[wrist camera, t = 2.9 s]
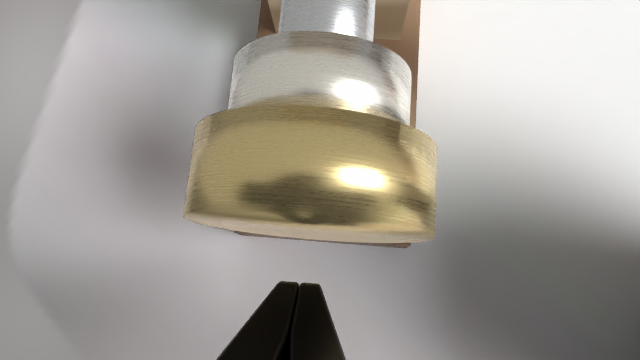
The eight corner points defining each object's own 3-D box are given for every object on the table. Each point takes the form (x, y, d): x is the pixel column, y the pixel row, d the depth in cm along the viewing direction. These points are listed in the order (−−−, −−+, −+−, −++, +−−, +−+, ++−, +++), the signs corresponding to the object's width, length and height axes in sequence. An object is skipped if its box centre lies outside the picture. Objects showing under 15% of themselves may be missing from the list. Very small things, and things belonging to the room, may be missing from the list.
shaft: (413, 247, 12) (465, 225, 7) (219, 232, 13) (138, 201, 7) (425, -45, 14) (473, -228, 9) (255, -52, 14) (208, -234, 9)
